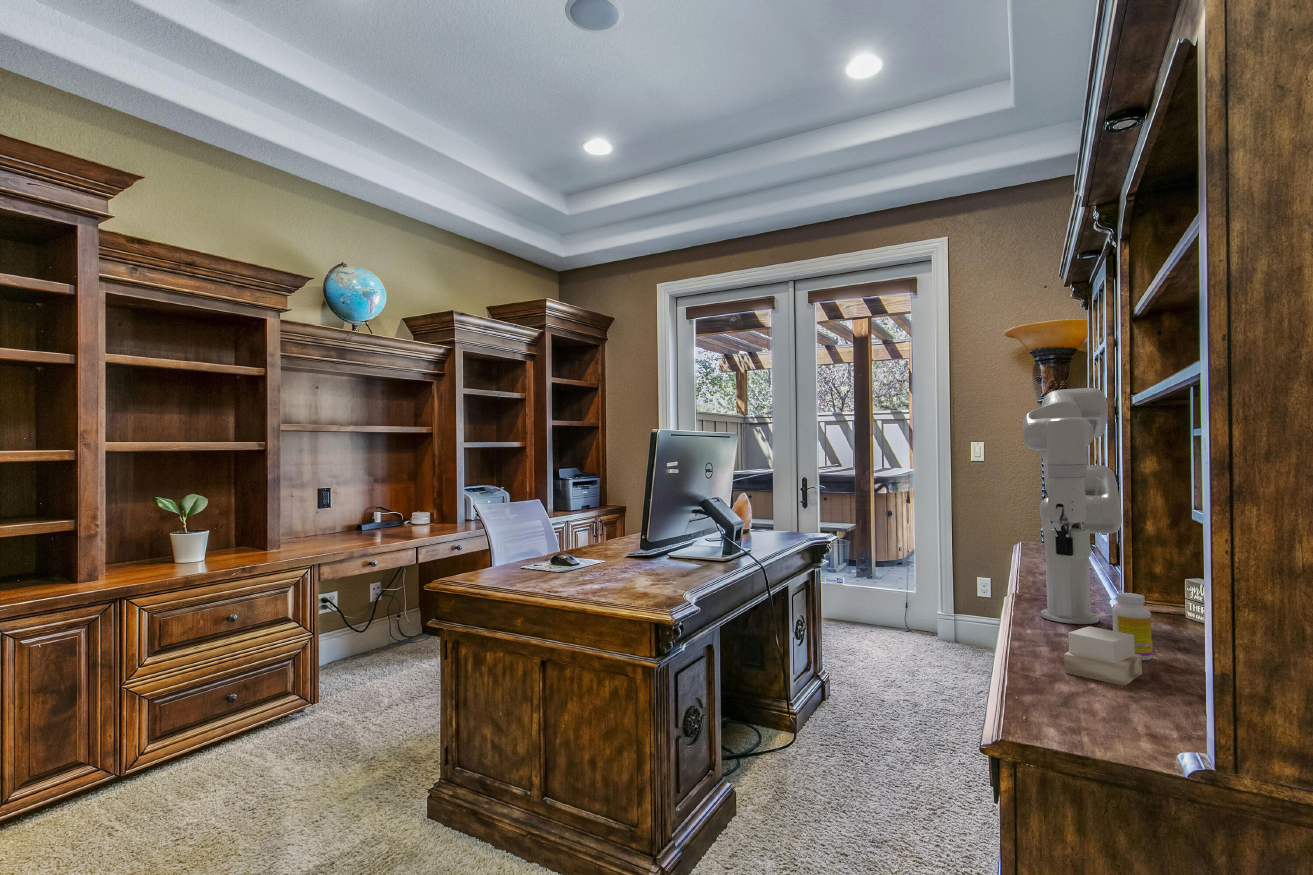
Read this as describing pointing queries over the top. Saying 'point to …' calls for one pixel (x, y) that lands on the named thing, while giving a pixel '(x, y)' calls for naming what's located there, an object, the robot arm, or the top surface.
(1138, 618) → the supplement bottle
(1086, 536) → the stack block
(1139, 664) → the tower base block
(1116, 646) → the tower top block
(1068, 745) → the top surface
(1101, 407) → the robot arm
